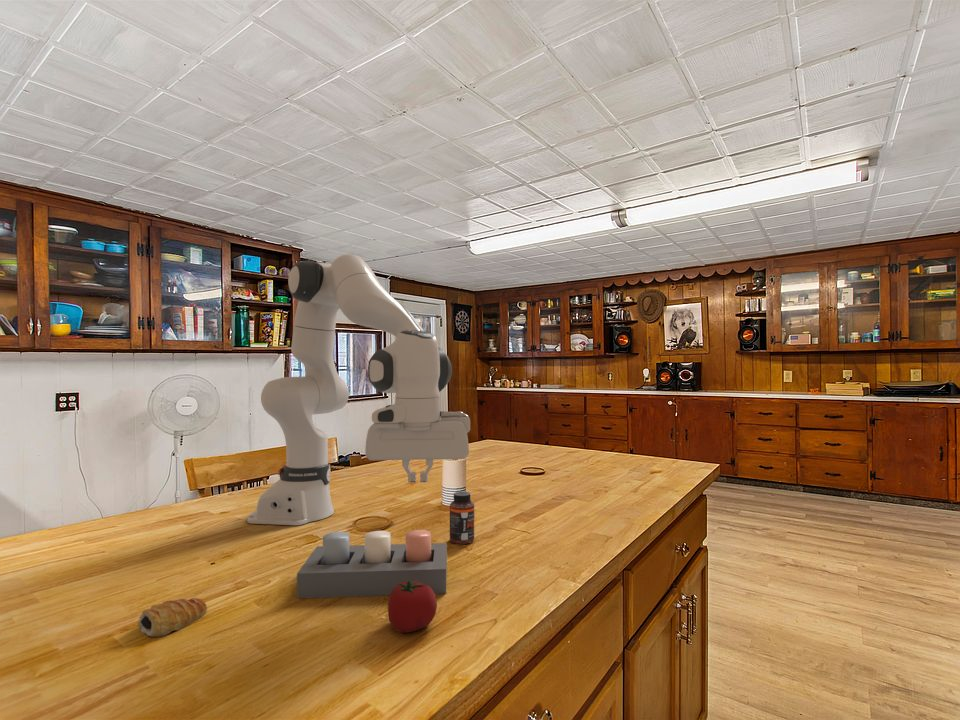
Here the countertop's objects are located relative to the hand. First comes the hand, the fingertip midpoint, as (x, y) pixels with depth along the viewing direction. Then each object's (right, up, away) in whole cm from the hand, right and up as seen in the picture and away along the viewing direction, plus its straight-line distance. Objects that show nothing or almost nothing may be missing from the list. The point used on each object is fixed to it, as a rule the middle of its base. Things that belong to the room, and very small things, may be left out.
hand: (418, 481), depth 96 cm
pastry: (-39, -20, -16) cm, 46 cm away
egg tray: (-8, -19, -1) cm, 21 cm away
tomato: (+1, -19, -17) cm, 26 cm away
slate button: (-16, -16, -1) cm, 23 cm away
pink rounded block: (0, -16, 0) cm, 16 cm away
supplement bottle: (+8, -19, +20) cm, 29 cm away
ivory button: (-8, -16, -1) cm, 18 cm away
